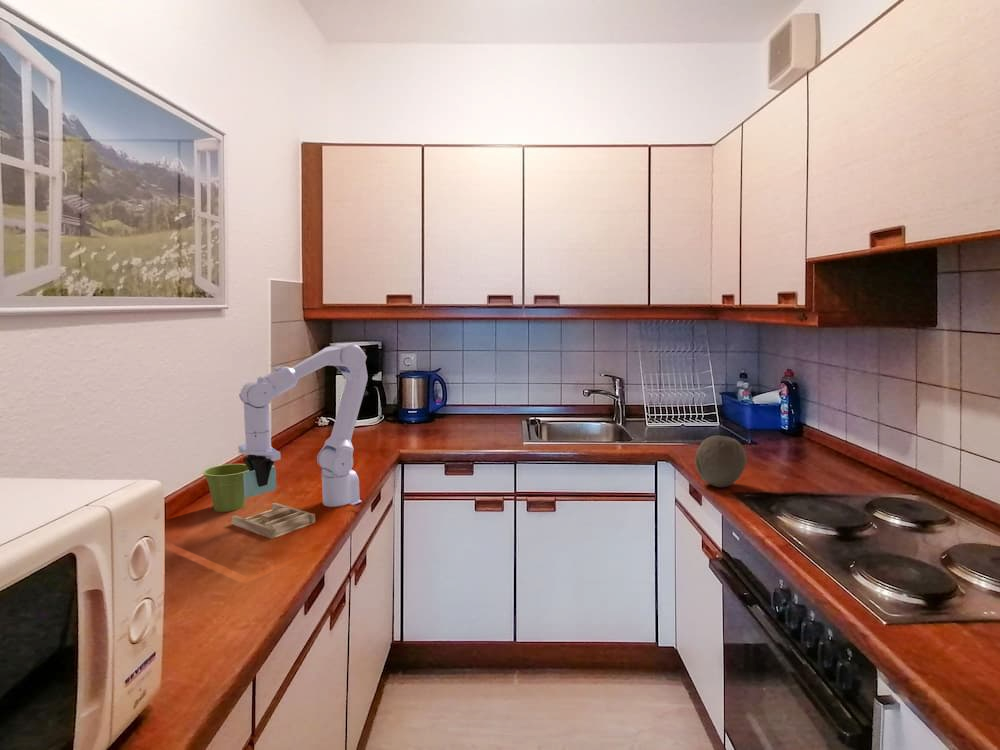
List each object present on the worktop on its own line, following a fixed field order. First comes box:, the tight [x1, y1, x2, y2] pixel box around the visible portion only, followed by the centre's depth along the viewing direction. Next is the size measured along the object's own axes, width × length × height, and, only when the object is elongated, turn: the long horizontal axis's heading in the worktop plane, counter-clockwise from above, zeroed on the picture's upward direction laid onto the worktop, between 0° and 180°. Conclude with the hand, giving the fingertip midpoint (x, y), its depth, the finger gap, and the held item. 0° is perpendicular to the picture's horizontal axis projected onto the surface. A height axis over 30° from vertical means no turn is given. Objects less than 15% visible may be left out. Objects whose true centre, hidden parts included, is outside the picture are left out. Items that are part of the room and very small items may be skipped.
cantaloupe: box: [694, 435, 747, 488], centre depth 170 cm, size 14×14×15 cm
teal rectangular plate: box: [243, 465, 277, 499], centre depth 141 cm, size 8×1×6 cm, turn 146°
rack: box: [231, 502, 316, 539], centre depth 140 cm, size 12×16×3 cm
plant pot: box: [202, 463, 249, 513], centre depth 151 cm, size 12×12×11 cm
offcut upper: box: [262, 508, 291, 522], centre depth 139 cm, size 6×2×1 cm, turn 150°
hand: (260, 484), depth 141 cm, fingers closed on teal rectangular plate, 1 cm apart
